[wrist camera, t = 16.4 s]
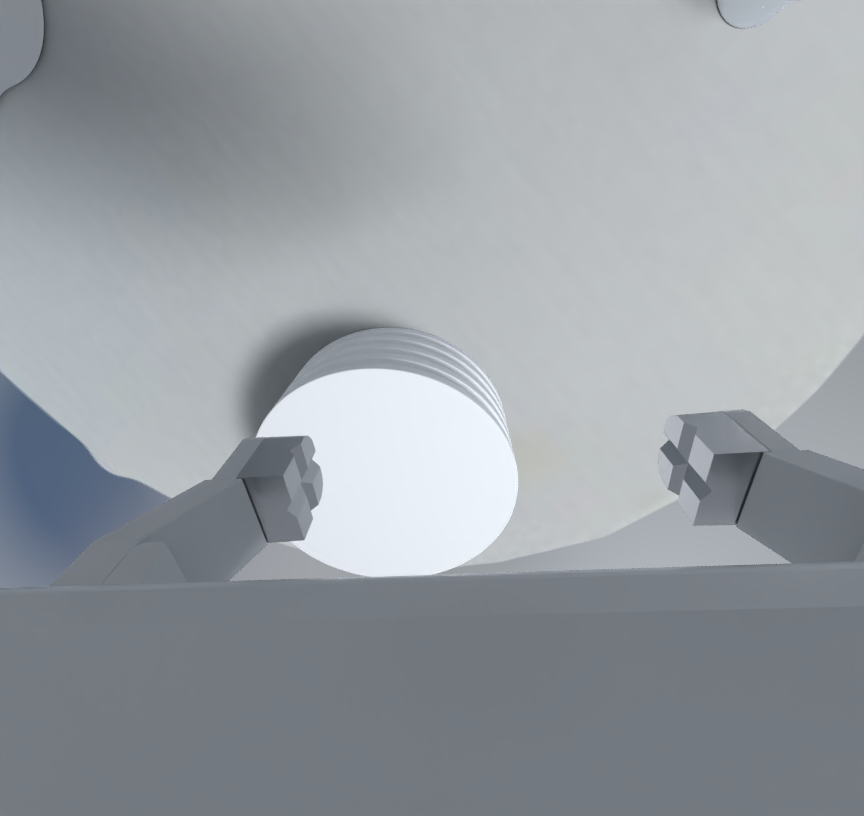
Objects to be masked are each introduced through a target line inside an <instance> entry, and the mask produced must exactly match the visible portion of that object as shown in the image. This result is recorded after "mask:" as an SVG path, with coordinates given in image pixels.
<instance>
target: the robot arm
mask: <svg viewBox="0 0 864 816" xmlns="http://www.w3.org/2000/svg"><path fill="white" fill-rule="evenodd" d="M43 36H44V18H43V8H42V2H41V0H0V96H1V94H2V93H3V92H4V91H6V90H7V89H8V88H10V87H12V86H14V85H16V84H18V83H20V82H21V81H23V80H24V79H25V78H26V77H27V76H28V75H29V74H30V73H31V71H32V70H33V69H34V67H35V65H36V63H37V61H38V59H39V56H40V53H41V49H42V44H43ZM664 433H665V435H666V436H667V438H668V439H669V440H668V441H667V442H666V443H665V444H664V445H663V446H662V447H661V448H660V452H659V458H658V466H659V473H660V476H661V479H662V481H663V483H664V484H665V486H666V487H667V489H668V490H670V491H672V492H674V493H676V494H677V495H679V499H678V505H679V506H680V508H681V509H682V510H683V512H684V513H685V515H686V516H687V518H688V519H689V520H690V522H691V523H692V524H693V526H694V525H737V526H736V527H738V528H739V529H741V530H742V531H744V532H745V533H747V534H748V535H750V536H751V537H753V538H754V539H756V540H757V541H759V542H760V543H762V544H763V545H765V546H766V547H768V548H769V549H771V550H773V551H774V552H776V553H777V554H779V555H780V556H782V557H783V558H785V559H786V560H788V561H789V562H791V563H792V564H764V565H763V564H762V565H733V566H732V565H731V566H697V567H667V568H666V567H665V568H632V569H601V570H600V569H599V570H569V571H538V572H507V573H476V574H445V575H444V574H443V575H411V576H378V577H349V578H348V577H346V578H315V579H281V580H251V581H229V580H230V579H231V578H233V577H234V575H235V574H237V573H238V572H239V571H240V570H241V569H242V568H243V567H244V566H245V565H246V564H248V563H249V562H250V561H251V560H252V559H253V558H254V557H255V556H256V555H257V554H258V553H259V552H260V551H261V550H262V549H263V548H265V546H267V543H272V542H287V541H302V540H305V538H306V535H307V533H308V530H309V528H310V525H311V523H312V520H313V516H312V513H311V510H312V509H314V508H315V507H316V506H318V505H319V502H320V499H321V497H322V489H323V479H322V472H321V468H320V466H319V465H318V464H317V463H316V462H315V461H313V460H312V458H313V456H314V454H315V451H316V450H315V447H314V444H313V441H312V439H311V438H310V437H309V436H283V437H258V438H247V439H244V440H242V442H241V443H240V444H239V445H238V447H237V448H236V449H235V451H234V452H233V453H232V454H231V456H230V457H229V458H228V460H227V461H226V462H225V463H224V465H223V466H222V467H221V469H220V470H219V471H218V472H217V474H216V475H215V476H214V478H213V479H212V480H205V481H203V482H201V483H199V484H197V485H196V486H194V487H192V488H190V489H188V490H186V491H185V492H183V493H181V494H179V495H177V496H176V497H174V498H172V499H170V500H168V501H167V502H165V503H163V504H161V505H160V506H157V507H156V508H154V509H152V510H150V511H148V512H147V513H145V514H143V515H141V516H139V517H138V518H136V519H134V520H132V521H130V522H128V523H127V524H125V525H123V526H121V527H119V528H118V529H116V530H114V531H112V532H110V533H109V534H107V535H105V536H103V537H102V538H100V539H98V540H96V541H94V542H92V543H91V544H90V545H89V546H88V547H87V548H86V549H85V550H84V552H83V553H82V554H81V555H80V556H79V557H78V558H77V559H76V560H75V561H74V562H73V563H72V564H71V565H70V566H69V567H68V568H67V569H66V570H65V571H64V572H63V573H62V574H61V575H60V576H59V577H58V578H57V579H56V580H55V581H54V582H53V584H52V585H51V586H50V587H22V588H0V816H864V469H861V468H858V467H856V466H852V465H850V464H847V463H844V462H841V461H838V460H835V459H832V458H829V457H827V456H824V455H821V454H818V453H815V452H812V451H809V450H801V451H800V450H799V449H797V448H796V447H795V446H793V445H792V444H791V443H790V442H788V441H787V440H786V439H785V438H783V437H782V436H781V435H779V434H778V433H777V432H775V431H774V430H773V429H772V428H771V427H769V426H768V425H767V424H765V423H764V422H763V421H762V420H760V419H759V418H758V417H756V416H755V415H754V414H753V413H751V412H750V411H747V410H743V409H742V410H731V411H720V412H709V413H697V414H685V415H673V416H669V418H668V420H667V421H666V424H665V428H664Z"/></svg>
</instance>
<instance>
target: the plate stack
mask: <svg viewBox="0 0 864 816" xmlns="http://www.w3.org/2000/svg"><path fill="white" fill-rule="evenodd" d="M283 436H309V437H310V438H311V439H312V441H313V444H314V447H315V450H316V451H315V454H314V456H313V458H312V460H313V461H315V462H316V463H317V464H318V465H319V466H320V468H321V472H322V479H323V489H322V497H321V499H320V502H319V505H318V506H316V507H315V508H314V509H312V510H311V513H312V516H313V520H312V523H311V525H310V528H309V530H308V533H307V535H306V538H305V540H302V541H290V542H291V543H293V544H294V545H295V546H297V547H298V548H299V549H301V550H302V551H304V552H305V553H307V554H308V555H310V556H312V557H313V558H315V559H317V560H319V561H321V562H323V563H325V564H328V565H330V566H332V567H335V568H338V569H341V570H344V571H347V572H350V573H355V574H358V575H363V576H369V577H378V576H411V575H432V574H436V573H440V572H443V571H446V570H449V569H452V568H454V567H457V566H459V565H461V564H463V563H465V562H467V561H468V560H470V559H472V558H473V557H475V556H477V555H478V554H479V553H481V552H482V551H483V550H485V549H486V548H487V547H488V546H489V545H490V544H491V543H492V542H493V541H494V540H495V539H496V538H497V537H498V536H499V534H500V533H501V532H502V530H503V529H504V527H505V526H506V524H507V522H508V521H509V519H510V517H511V514H512V512H513V509H514V506H515V503H516V498H517V492H518V472H517V466H516V461H515V457H514V453H513V448H512V444H511V440H510V435H509V431H508V427H507V422H506V418H505V414H504V409H503V405H502V402H501V399H500V396H499V394H498V391H497V389H496V387H495V385H494V384H493V382H492V380H491V379H490V377H489V376H488V375H487V373H486V372H485V371H484V370H483V368H482V367H481V366H480V365H479V364H478V363H477V362H476V361H475V360H474V359H473V358H472V357H470V356H469V355H468V354H467V353H465V352H464V351H463V350H461V349H460V348H458V347H457V346H455V345H453V344H452V343H450V342H448V341H446V340H444V339H441V338H439V337H437V336H434V335H431V334H428V333H425V332H421V331H417V330H412V329H405V328H374V329H367V330H362V331H358V332H355V333H351V334H349V335H346V336H343V337H341V338H339V339H337V340H335V341H333V342H331V343H330V344H328V345H326V346H325V347H323V348H322V349H321V350H319V351H318V352H317V353H316V354H315V355H314V356H313V357H312V358H311V359H310V360H309V361H308V362H307V363H306V364H305V365H304V367H303V368H302V369H301V371H300V372H299V374H298V375H297V376H296V377H295V379H294V380H293V381H292V383H291V384H290V385H289V387H288V388H287V389H286V391H285V392H284V394H283V395H282V396H281V397H280V399H279V400H278V401H277V403H276V404H275V406H274V407H273V408H272V409H271V411H270V412H269V414H268V415H267V416H266V418H265V419H264V421H263V422H262V424H261V426H260V428H259V430H258V432H257V435H256V437H255V438H258V437H283Z"/></svg>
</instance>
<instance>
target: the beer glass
mask: <svg viewBox="0 0 864 816" xmlns="http://www.w3.org/2000/svg"><path fill="white" fill-rule="evenodd" d="M797 1H800V0H717V4H718V8H719V11H720V13H721V15H722V17H723V18H724V20H725V21H726V22H727V23H729V24H730V25H732V26H734V27H737V28H752V27H756V26H758V25H761V24H763V23H765V22H766V21H768V20H770V19H771V18H772V17H773V16H775V15H776V14H777V13H778V12H779V11H781V10H782V9H783V8H784V7H786V6H787V5H789V4H791V3H793V2H797Z"/></svg>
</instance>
